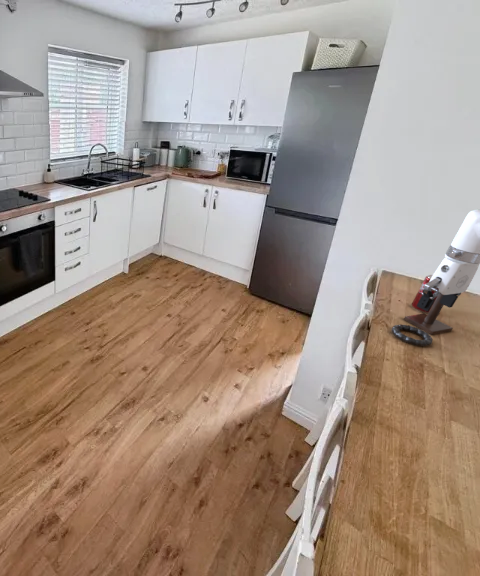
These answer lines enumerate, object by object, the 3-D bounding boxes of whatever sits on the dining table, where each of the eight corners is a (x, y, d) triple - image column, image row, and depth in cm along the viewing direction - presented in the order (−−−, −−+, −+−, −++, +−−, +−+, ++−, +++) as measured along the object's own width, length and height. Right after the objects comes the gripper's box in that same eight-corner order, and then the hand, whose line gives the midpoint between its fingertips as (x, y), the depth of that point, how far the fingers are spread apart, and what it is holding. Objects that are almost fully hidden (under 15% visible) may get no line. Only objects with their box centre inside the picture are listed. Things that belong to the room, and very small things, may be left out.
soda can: (411, 309, 130) (427, 279, 124) (410, 301, 135) (425, 272, 129) (437, 317, 126) (455, 286, 120) (435, 308, 131) (452, 278, 126)
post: (451, 331, 118) (474, 292, 112) (431, 334, 116) (454, 295, 109) (422, 316, 126) (442, 279, 119) (403, 319, 124) (422, 281, 117)
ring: (438, 344, 111) (441, 339, 110) (415, 349, 109) (417, 344, 108) (406, 326, 120) (408, 321, 119) (383, 330, 117) (385, 325, 116)
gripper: (457, 262, 97) (426, 317, 105) (500, 258, 102) (467, 310, 110) (428, 251, 103) (400, 303, 111) (470, 247, 108) (440, 297, 116)
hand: (433, 306), depth 111 cm, fingers open, 9 cm apart
